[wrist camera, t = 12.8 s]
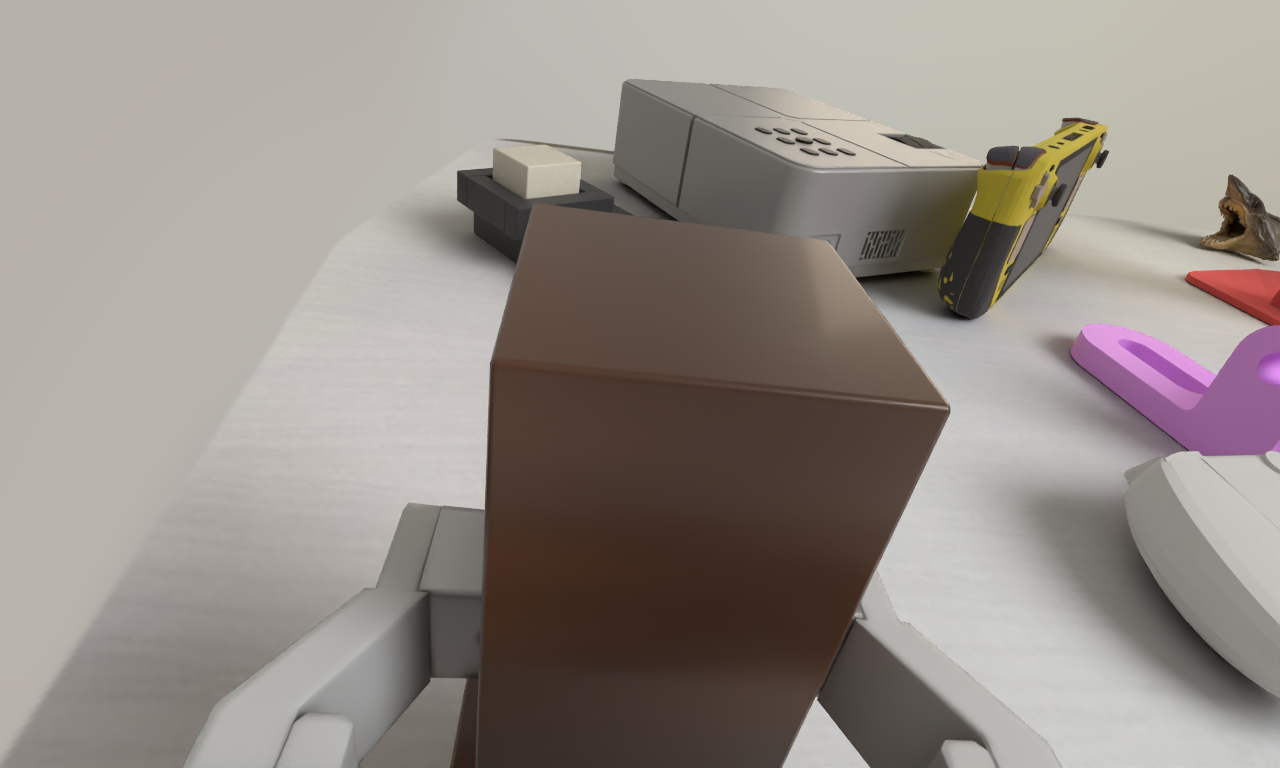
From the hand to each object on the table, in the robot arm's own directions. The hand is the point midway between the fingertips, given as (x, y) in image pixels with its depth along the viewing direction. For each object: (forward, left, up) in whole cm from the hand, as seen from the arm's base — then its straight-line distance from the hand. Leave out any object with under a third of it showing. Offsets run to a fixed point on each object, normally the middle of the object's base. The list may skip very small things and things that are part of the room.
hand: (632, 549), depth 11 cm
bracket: (+17, +33, -9) cm, 38 cm away
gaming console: (+8, +47, -9) cm, 49 cm away
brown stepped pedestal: (0, -1, -6) cm, 6 cm away
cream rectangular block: (-19, +26, -5) cm, 33 cm away
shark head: (+27, +73, -9) cm, 78 cm away
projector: (-9, +43, -9) cm, 45 cm away
